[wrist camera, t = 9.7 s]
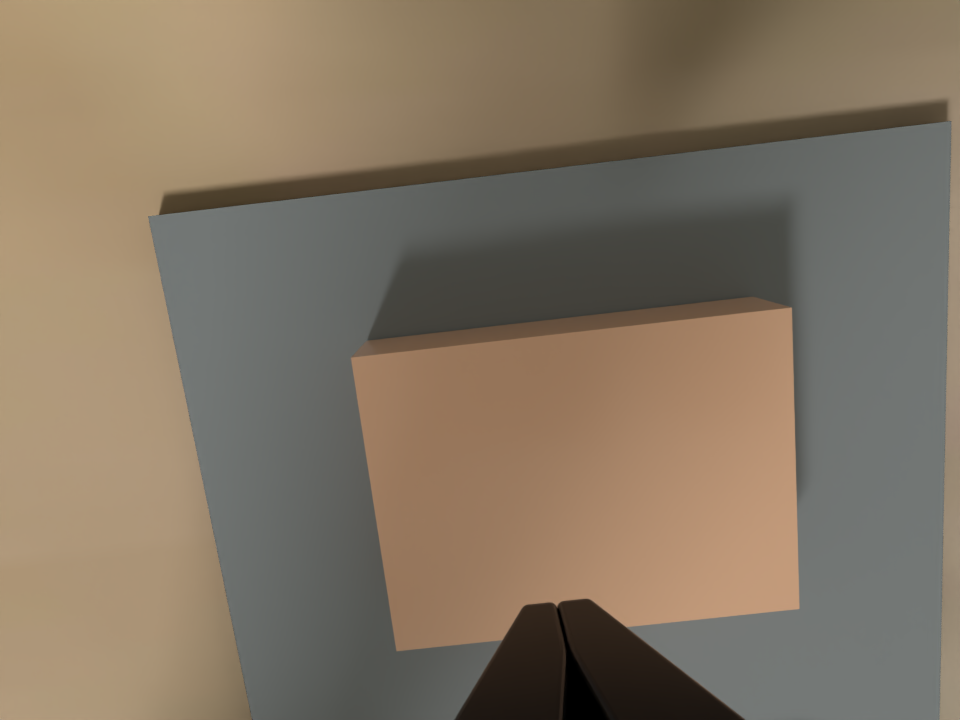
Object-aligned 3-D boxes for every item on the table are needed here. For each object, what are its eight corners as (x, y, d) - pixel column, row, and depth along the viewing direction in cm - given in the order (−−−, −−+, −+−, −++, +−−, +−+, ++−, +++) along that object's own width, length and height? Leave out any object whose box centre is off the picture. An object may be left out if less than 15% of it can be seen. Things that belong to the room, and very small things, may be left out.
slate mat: (922, 1047, 19) (932, 1065, 18) (337, 1101, 19) (334, 1119, 19) (938, 123, 14) (951, 121, 14) (157, 216, 14) (148, 216, 14)
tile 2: (406, 600, 16) (761, 563, 15) (396, 651, 14) (799, 608, 14) (367, 340, 14) (751, 296, 14) (350, 357, 13) (791, 307, 12)
